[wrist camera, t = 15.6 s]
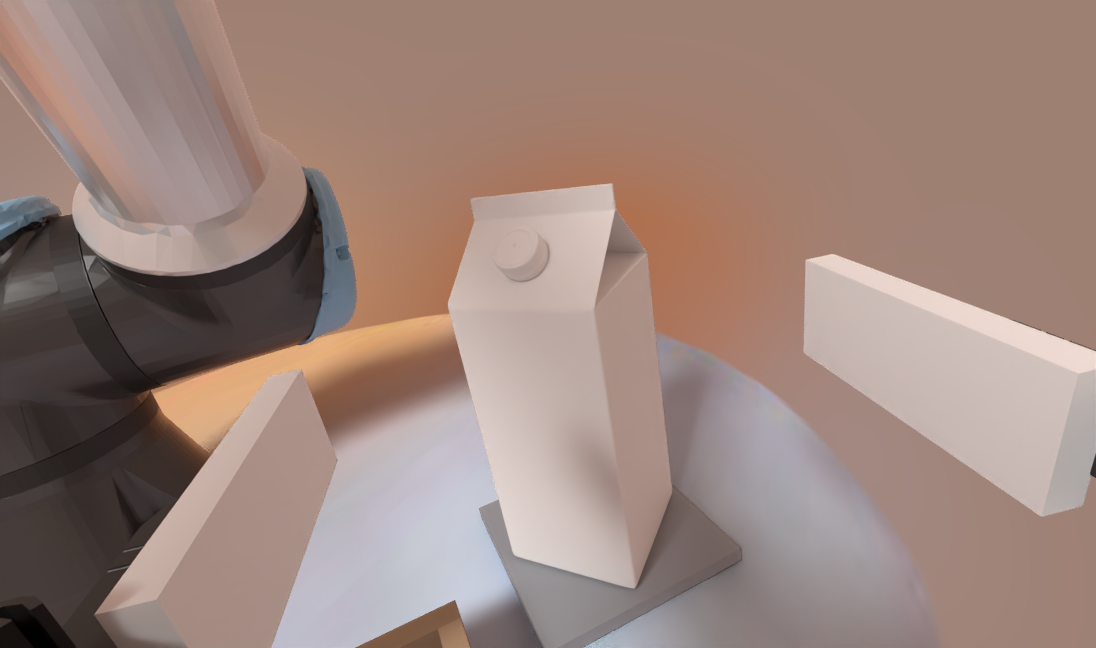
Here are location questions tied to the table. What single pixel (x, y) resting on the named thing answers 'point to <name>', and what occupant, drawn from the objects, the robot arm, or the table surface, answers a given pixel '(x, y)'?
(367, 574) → the table surface
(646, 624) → the table surface
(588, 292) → the milk carton
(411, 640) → the walnut holder
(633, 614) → the slate pad
